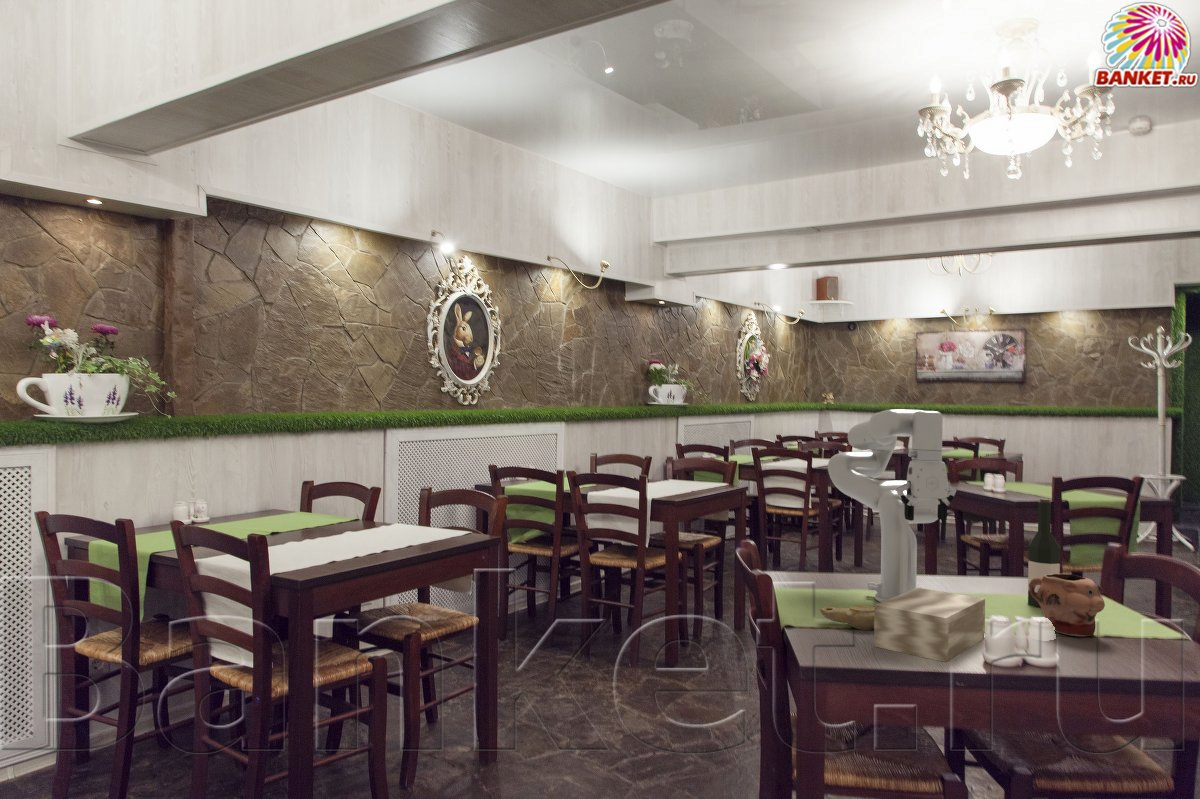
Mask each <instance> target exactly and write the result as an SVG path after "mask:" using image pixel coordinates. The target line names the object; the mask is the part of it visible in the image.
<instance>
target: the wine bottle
mask: <svg viewBox="0 0 1200 799" xmlns="http://www.w3.org/2000/svg"><path fill="white" fill-rule="evenodd" d="M1037 504H1038V505H1037V507H1038V508H1037V509H1038V510H1037V512H1038V513H1037V520H1038V521H1037V532H1036V533H1035V535H1034V536H1033V538H1032V539H1031V541H1030V542H1029V544H1028V565H1027V567H1028V571H1027V572H1028V574H1027V575H1028V576H1027V577H1028V578H1027V580H1028V581H1027V606H1031V607H1034V608H1038V609H1042V608H1041V606H1040V605H1039V603H1038V601H1037V600H1036V599H1035V598H1033V597H1032V595H1031V593H1030V590H1029V584H1030V582H1031V580H1032V579H1033V578H1037V577H1041V578H1043V576H1044V575H1047V574H1061V573H1060V572H1061V569H1060V568H1061V563H1060V562H1061V561H1060V560H1061V547H1060V545H1059V543H1058V542H1057V540H1056V538H1055V537H1054V536H1053V534H1052V529H1051V528H1052V502H1050V498H1049V499H1048V498H1040V499H1039V501H1038V503H1037ZM1040 586H1041V585H1036V587H1035V594H1036V596H1037V591H1038V589H1039V587H1040Z"/></svg>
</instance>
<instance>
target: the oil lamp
mask: <svg viewBox="0 0 1200 799" xmlns="http://www.w3.org/2000/svg"><path fill="white" fill-rule="evenodd" d="M819 611H820V613H821V615H822V616H823V617H825V618H826V619H827V620H830V621H832V622H839V623H843V624H847V625H848V626H849V625H850V626H852V627H853V628H855V629H857V630H863V631H868V630H874V613H875V606H874V607H873V606H870V605H869V606H868V605H854V606H851V607H845V608H838V607H834V606H824V607H821V608H820V610H819Z"/></svg>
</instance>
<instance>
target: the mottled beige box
mask: <svg viewBox="0 0 1200 799" xmlns="http://www.w3.org/2000/svg"><path fill="white" fill-rule="evenodd" d="M874 608H875V613H874V629H873V647H874V648H875V647H876V648H880V649H883V650H889V651H894V652H898V653H902V654H907V655H911V656H917V657H921V658H926V659H930V660H934V661H939V662H944V663H947V662H948V661H950V660H952V659H953V658H954V657H955V658H956V656H958V655H959V654H962V653H963V652H965V651H966V650H968V649H970V648H971V647H973V646H974V645H976V644H978V643H980V642H981V641H983V640H984V639H985V638H984V633H985V634H986V632H985V631H986V598H984V597H977V596H970V595H964V594H958V593H954V592H953V593H952V592H948V591H947V592H946V591H940V590H935V589H931V588H930V589H928V588H923V587H916V589H914V590H911V591H908V592H906V593H903V594H901V595H898V596H896V597H893V598H891V599H888V600H886V601H883V602H878V603H876V604H874Z"/></svg>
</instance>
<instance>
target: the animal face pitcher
mask: <svg viewBox="0 0 1200 799" xmlns="http://www.w3.org/2000/svg"><path fill="white" fill-rule="evenodd" d="M1036 585H1041V586H1040V587H1039V589H1038V591H1037V596H1036V594H1035V587H1036ZM1029 590H1030V593H1031V595H1032V597H1033V598H1035V599H1036V600H1037V601H1038V603H1039V605H1040V606H1041V608H1040V609H1041V610H1042V613H1043V615H1044V618H1045V617H1046V618H1048V619H1049V620H1050V621H1051V622H1052V624H1053V626H1054V627H1055V630H1056V633H1059V634H1064V635H1067V636H1075V637H1088V636H1090V637H1091V636H1093V635H1094V634H1095V632H1096V616H1097V614H1098V613H1100V612H1102V611H1103V610H1104V609H1105V606H1106V605H1105V604H1106V603H1105V599H1104V598H1103V596H1102V595H1101V592H1100V588H1099V587H1098V585H1097V583H1095V582H1094V580H1092V579H1091V578H1088V577H1083V576H1079V575H1076V574H1070V573H1060V574H1047V575H1044V576H1043V578H1041V577H1037V578H1033V579H1032V580H1031V582H1030V584H1029Z"/></svg>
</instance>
